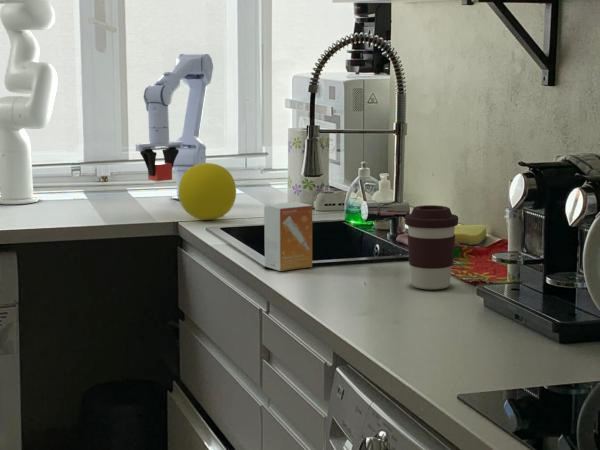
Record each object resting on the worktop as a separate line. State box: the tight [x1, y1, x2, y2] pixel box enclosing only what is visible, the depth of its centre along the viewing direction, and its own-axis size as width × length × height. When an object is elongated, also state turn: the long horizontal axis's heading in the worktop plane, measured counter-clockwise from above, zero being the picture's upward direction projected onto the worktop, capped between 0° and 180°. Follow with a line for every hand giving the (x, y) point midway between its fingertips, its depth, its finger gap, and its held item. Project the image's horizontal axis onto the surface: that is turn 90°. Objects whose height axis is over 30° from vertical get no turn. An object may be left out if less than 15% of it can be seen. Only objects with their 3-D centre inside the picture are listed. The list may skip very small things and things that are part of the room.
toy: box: [179, 162, 237, 221], centre depth 277 cm, size 15×15×15 cm
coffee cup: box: [404, 204, 459, 291], centre depth 197 cm, size 10×10×15 cm
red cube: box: [147, 161, 173, 182], centre depth 300 cm, size 5×5×5 cm
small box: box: [263, 201, 313, 272], centre depth 215 cm, size 8×6×13 cm
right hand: (160, 174), depth 300 cm, fingers closed on red cube, 5 cm apart
